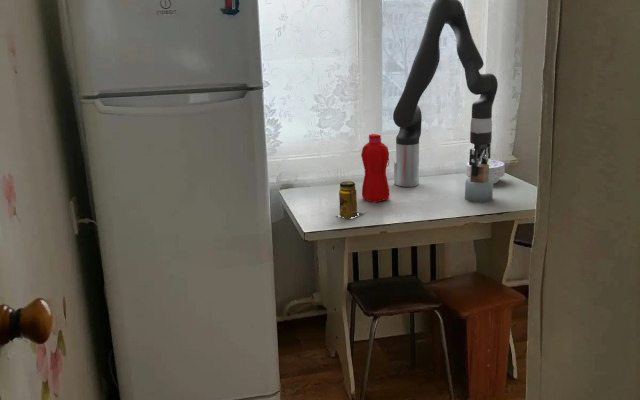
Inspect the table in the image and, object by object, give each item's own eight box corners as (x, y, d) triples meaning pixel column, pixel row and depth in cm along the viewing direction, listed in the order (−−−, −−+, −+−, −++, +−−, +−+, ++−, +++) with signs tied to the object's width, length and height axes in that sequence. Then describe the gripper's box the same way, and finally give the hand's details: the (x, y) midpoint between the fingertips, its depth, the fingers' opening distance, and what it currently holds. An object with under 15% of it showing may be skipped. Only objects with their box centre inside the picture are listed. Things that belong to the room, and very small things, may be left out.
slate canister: (460, 200, 224) (460, 182, 222) (471, 194, 232) (471, 176, 230) (486, 204, 219) (487, 185, 217) (496, 197, 226) (497, 179, 224)
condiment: (334, 216, 211) (333, 183, 208) (349, 210, 218) (348, 178, 214) (351, 220, 207) (350, 186, 204) (365, 213, 213) (365, 181, 210)
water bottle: (396, 198, 229) (396, 133, 222) (372, 204, 224) (371, 137, 217) (381, 193, 237) (381, 130, 230) (358, 198, 232) (357, 134, 224)
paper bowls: (459, 179, 253) (459, 161, 251) (492, 176, 257) (492, 157, 254) (476, 188, 239) (477, 168, 237) (511, 184, 242) (512, 165, 240)
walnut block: (470, 181, 223) (470, 165, 221) (475, 178, 227) (476, 163, 225) (483, 183, 220) (484, 167, 218) (488, 180, 224) (489, 164, 222)
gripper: (478, 126, 226) (477, 168, 230) (463, 132, 215) (462, 176, 219) (498, 127, 221) (496, 170, 226) (483, 134, 210) (481, 179, 215)
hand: (479, 173), depth 223 cm, fingers open, 8 cm apart
